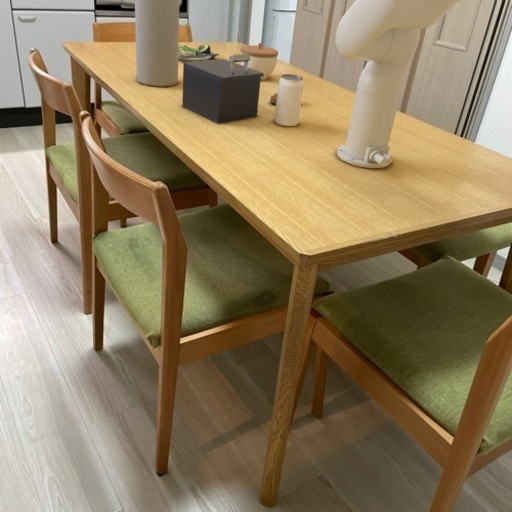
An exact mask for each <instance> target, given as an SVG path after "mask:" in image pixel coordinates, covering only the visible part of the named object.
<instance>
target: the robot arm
mask: <svg viewBox="0 0 512 512" xmlns="http://www.w3.org/2000/svg"><path fill="white" fill-rule="evenodd" d="M459 2H461V0H355V1H354V2H353V3H352V4H351V5H350V6H349V8H348V9H347V10H346V11H345V13H344V14H343V16H342V17H341V19H340V21H339V23H338V26H337V28H336V33H335V46H336V49H337V51H338V54H340V55H341V57H343V58H344V59H346V60H350V61H358V62H359V61H361V62H363V61H365V62H366V61H367V63H366V64H365V66H364V67H363V69H362V70H361V73H360V75H359V78H358V80H357V81H358V82H357V86H356V91H355V95H354V100H353V105H352V111H351V116H350V119H349V120H350V121H349V125H348V129H347V135H346V139H345V140H346V141H345V144H343V145H341V146H339V147H338V148H337V151H336V155H337V157H338V158H339V159H340V160H341V161H343V162H345V163H347V164H350V165H353V166H354V167H359V168H365V169H383V168H386V167H388V166H389V165H391V163H392V162H393V161H394V157H393V156H392V155H391V154H389V153H390V148H391V147H390V146H389V143H390V139H391V134H392V130H393V126H394V123H395V118H396V113H397V110H398V106H399V103H400V98H401V95H402V91H403V87H404V82H405V79H406V76H407V72H408V69H409V68H410V64H411V62H412V59H413V57H414V55H415V53H416V51H417V48H418V46H419V43H420V39H421V29H427V28H430V27H432V26H433V25H435V24H437V23H438V22H439V21H440V20H441V19H442V18H443V17H444V16H446V14H447V13H448V12H450V11H451V10H452V9H453V8H454V7H455V6H457V4H458V3H459Z"/></svg>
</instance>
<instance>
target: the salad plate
mask: <svg viewBox="0 0 512 512" xmlns="http://www.w3.org/2000/svg"><path fill="white" fill-rule="evenodd" d="M219 55H220V54H219V53H215V52H213V51H211V46H210V45H209V43H202V44H200V45H198V47H195V48H193V47H189V46H187V45H179V46H178V62H192V61H204V60H213V59H214V58H216V57H218V56H219Z"/></svg>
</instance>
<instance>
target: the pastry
mask: <svg viewBox="0 0 512 512" xmlns="http://www.w3.org/2000/svg"><path fill="white" fill-rule="evenodd" d="M277 93H278V92H276V93H274V94H273V95H271V96H270V100H269V102H270V103H272V104H274V105H276V101H277Z"/></svg>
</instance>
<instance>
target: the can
mask: <svg viewBox="0 0 512 512" xmlns="http://www.w3.org/2000/svg"><path fill="white" fill-rule="evenodd" d="M304 85H305V84H304V77H303V76H301V75H297V74H290V73H285V74H281V75H280V79H279V80H278V86H277V92H276V93H277V101H276V104H275V111H274V119H273V120H274V123H275V124H276V125H278V126H282V127H286V128H287V127H291V128H292V127H296V126H297V125H298V124H299V120H300V114H301V107H302V99H303V94H304Z"/></svg>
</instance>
